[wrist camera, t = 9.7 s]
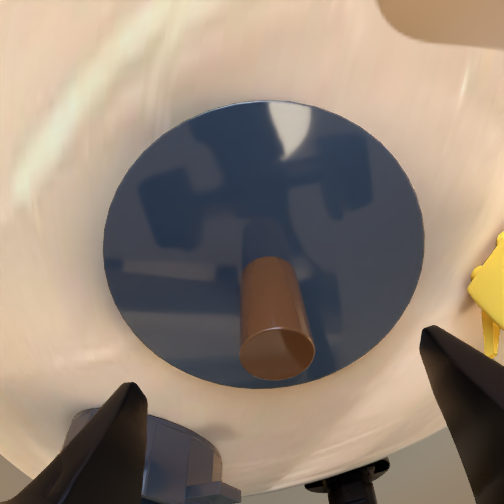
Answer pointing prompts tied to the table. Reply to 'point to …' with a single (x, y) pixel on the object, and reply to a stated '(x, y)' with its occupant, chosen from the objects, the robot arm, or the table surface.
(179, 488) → the pot
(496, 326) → the teapot
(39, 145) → the table surface
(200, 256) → the lid
